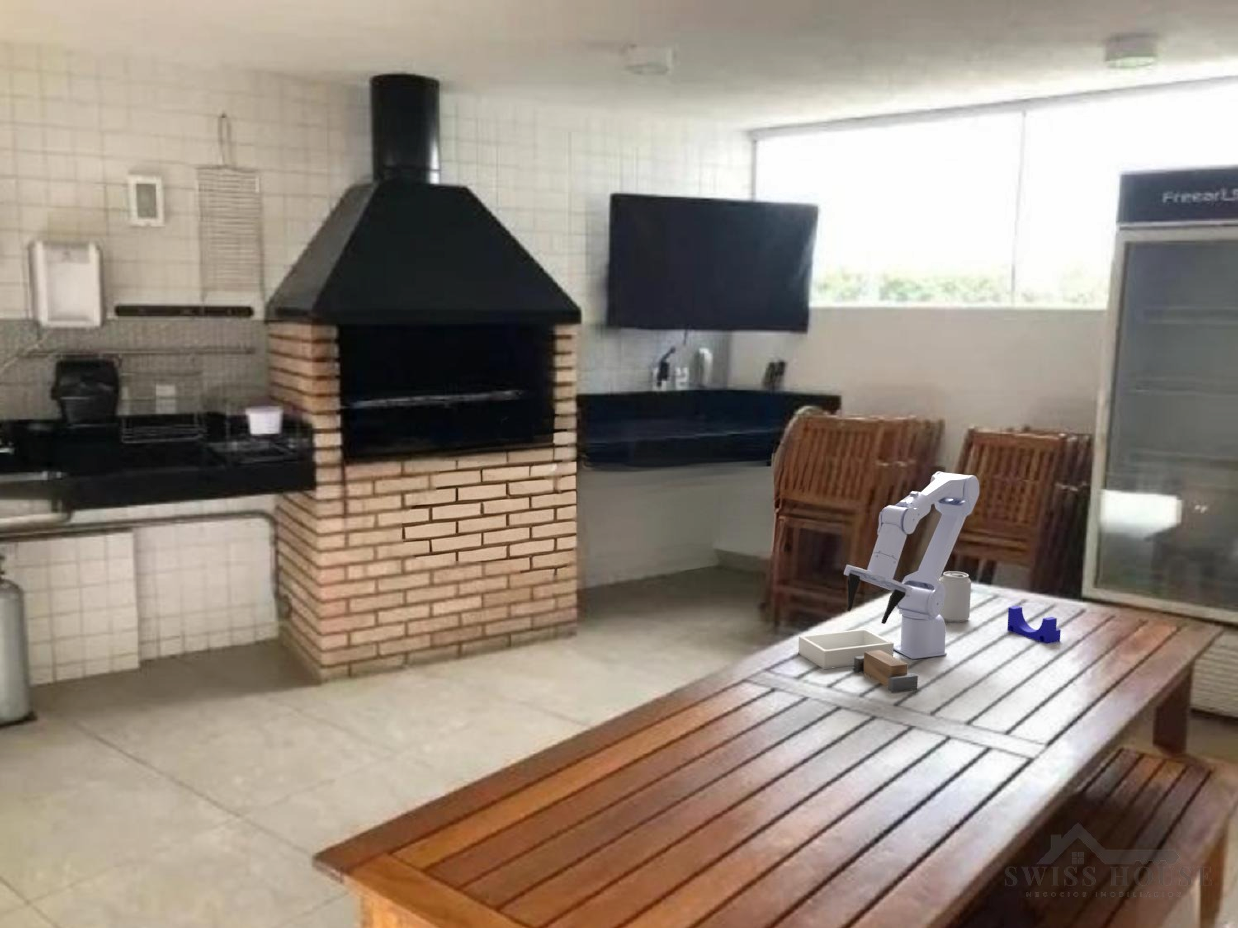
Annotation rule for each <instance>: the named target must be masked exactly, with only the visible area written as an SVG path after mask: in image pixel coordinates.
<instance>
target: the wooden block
mask: <svg viewBox="0 0 1238 928" xmlns="http://www.w3.org/2000/svg"><path fill="white" fill-rule="evenodd" d="M908 664H909V663H906V662H904V661H903V660H901V659H899V658H896V657H895V656H894V655H893V656H891V655H889V654H887V653H885V652H883V651H881V650H875V651H868V652H864V672H863V674H864V675H866V676H867V677H869V678H871V679H872V680H874V681H876V682H878V683H879V684H881V685H883V686H885V687H887V688H888V678H889V676H895V675H903V674H908Z"/></svg>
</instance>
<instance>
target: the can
mask: <svg viewBox="0 0 1238 928" xmlns="http://www.w3.org/2000/svg"><path fill="white" fill-rule="evenodd" d="M969 576H970V575H969V574H968V573H966V572H964V571H963V572H962V571H954V570H953V571H950V570H948V571H943V572H942V576H941V577H940V579H939V580H940V582H941V583H942V584H943V586H944V587H945V590H946V595H945V598H944V605H943V609H942V611H941V613H940V614H939V615H941V616H942V618H943V619H944V622H945V621H946V622H950V623H964V622H967V620H968V619H969V618H970V615H971V613H970V611H971V591H972V590H971V589H972V580H971V579H970V577H969Z"/></svg>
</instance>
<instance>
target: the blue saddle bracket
mask: <svg viewBox="0 0 1238 928" xmlns="http://www.w3.org/2000/svg"><path fill="white" fill-rule="evenodd" d="M1007 609H1008V613H1007V628H1006V629H1007V631H1008V632H1011V633H1014V634H1016V635H1017V634H1018V635H1020V636H1023V637H1025V638H1027V639H1031V640H1034V641H1037V642H1040V643H1042V644H1043V643H1044V644H1046V645H1047V644H1053V643H1058V642H1061V629H1059V628H1057V624H1058V623H1057V622H1058V618H1057V617H1054V616H1049V617H1048V616H1047V617H1044V618H1043V617H1042V621H1041V624H1040V626H1039V628H1038V629H1034V628H1032V626H1030V625H1029V624H1028V623H1027V621H1026V619H1025V616H1024V613H1023V607H1022V606H1020V605H1015V606H1009V607H1008V608H1007Z"/></svg>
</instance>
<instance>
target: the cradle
mask: <svg viewBox="0 0 1238 928" xmlns="http://www.w3.org/2000/svg"><path fill="white" fill-rule="evenodd" d="M853 671H855V672H856V673H864V656H858V657H854V665H853ZM918 678H919V675H918V674H916V673H913V672H911V673H907V674H903V675H895V676H889V678H888V687H887V691H888V692H890V693H892V694H894V693H901V692H902V693H903V692H908V691H915V690H917V691H918V686H919V685H918V683H919V681H918V680H919V679H918Z"/></svg>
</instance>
